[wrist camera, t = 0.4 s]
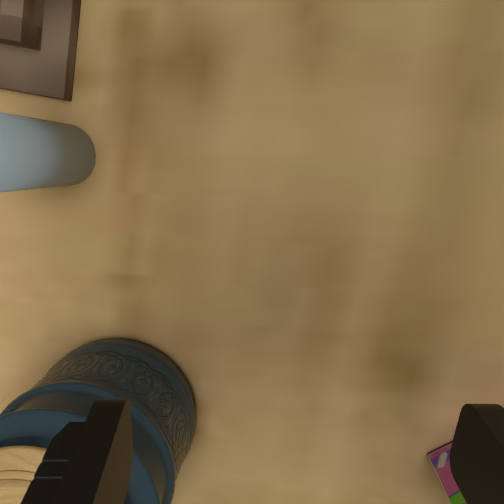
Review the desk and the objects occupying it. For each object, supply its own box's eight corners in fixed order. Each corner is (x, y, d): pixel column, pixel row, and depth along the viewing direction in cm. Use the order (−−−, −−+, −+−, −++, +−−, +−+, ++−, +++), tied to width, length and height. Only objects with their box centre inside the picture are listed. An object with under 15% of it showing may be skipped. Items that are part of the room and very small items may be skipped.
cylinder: (40, 118, 35) (-71, 99, 24) (98, 129, 35) (13, 115, 24) (35, 179, 36) (-74, 186, 25) (92, 189, 36) (7, 202, 25)
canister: (39, 451, 41) (-145, 665, 23) (62, 316, 38) (-126, 445, 21) (181, 491, 40) (100, 737, 23) (214, 357, 38) (151, 522, 20)
